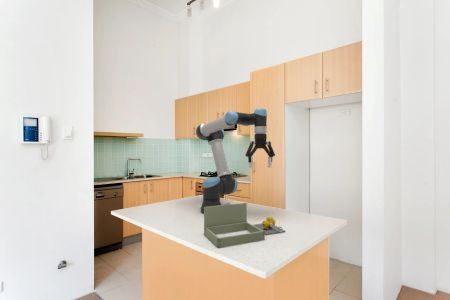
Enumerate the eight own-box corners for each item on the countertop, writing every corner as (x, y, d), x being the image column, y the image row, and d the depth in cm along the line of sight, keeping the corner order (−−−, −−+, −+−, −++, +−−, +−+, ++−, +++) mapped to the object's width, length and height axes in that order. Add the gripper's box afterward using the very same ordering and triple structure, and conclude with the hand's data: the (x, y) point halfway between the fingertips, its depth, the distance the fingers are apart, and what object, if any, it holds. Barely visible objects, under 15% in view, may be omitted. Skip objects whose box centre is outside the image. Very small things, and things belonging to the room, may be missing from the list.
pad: (249, 226, 137) (249, 225, 137) (267, 223, 142) (267, 222, 142) (265, 235, 122) (265, 234, 122) (285, 232, 127) (285, 230, 127)
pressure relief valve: (258, 228, 130) (268, 223, 138) (278, 237, 122) (287, 232, 130) (260, 218, 129) (270, 214, 137) (280, 226, 122) (289, 222, 129)
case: (204, 234, 123) (204, 204, 123) (245, 228, 133) (245, 200, 133) (218, 248, 106) (218, 213, 106) (264, 239, 116) (264, 208, 116)
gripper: (245, 132, 144) (245, 168, 144) (280, 133, 154) (280, 167, 154) (240, 133, 151) (240, 167, 151) (273, 134, 161) (273, 166, 161)
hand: (260, 167), depth 153 cm, fingers open, 13 cm apart
